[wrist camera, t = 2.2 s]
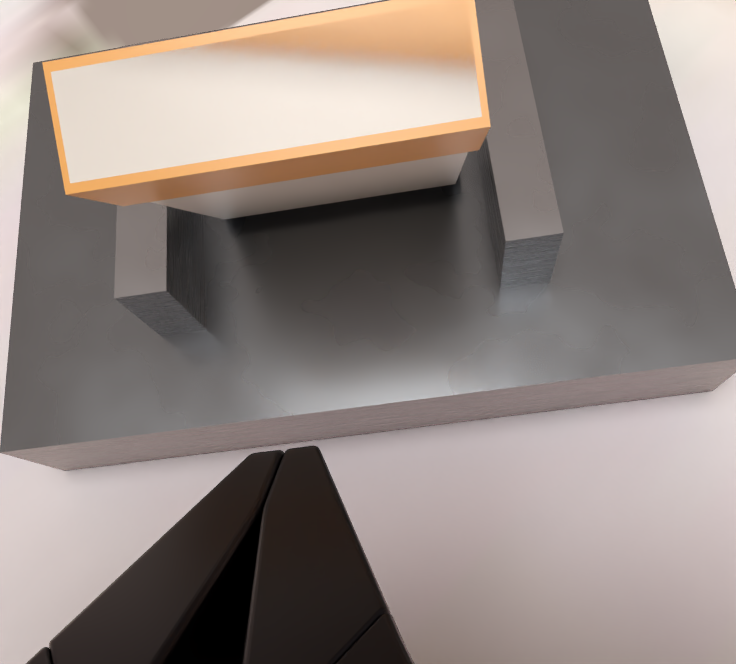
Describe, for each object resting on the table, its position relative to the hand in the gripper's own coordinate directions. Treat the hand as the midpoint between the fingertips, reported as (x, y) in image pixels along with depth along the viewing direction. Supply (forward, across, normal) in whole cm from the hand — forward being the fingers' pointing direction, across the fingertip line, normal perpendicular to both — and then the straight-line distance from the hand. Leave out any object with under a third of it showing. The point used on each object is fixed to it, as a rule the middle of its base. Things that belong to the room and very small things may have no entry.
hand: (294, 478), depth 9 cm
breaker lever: (+11, 0, -1) cm, 11 cm away
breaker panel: (+14, 0, +1) cm, 14 cm away
